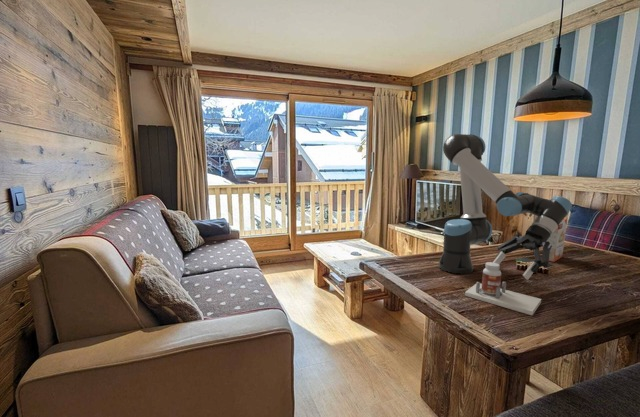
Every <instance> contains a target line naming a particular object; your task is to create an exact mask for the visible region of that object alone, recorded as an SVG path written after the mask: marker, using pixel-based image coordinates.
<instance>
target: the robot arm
mask: <svg viewBox="0 0 640 417" xmlns="http://www.w3.org/2000/svg"><path fill="white" fill-rule="evenodd" d="M442 151H443V154H444V155H445V157H446V159H447V160H448V161H449V162H450V163H451V164H452V165H454V166H458V167H459V174H460V185H461V186H460V188H461V197H462V212H463V214H462V215H461V216H460V218H457V219H449V220H447V221H446V222H445V224H444V229H443V248H442V249H443V251H442V254H441V256H440V259H439V261H438V268H439V269H440V268H441V269H440V270H442V271H444V272H446V271H448V273H450V272H452V273H451V274H456V273H460V275H462V274H463V275H464V274H465V275H466V274H470V273H472V272H473V271H474V265H473V261H472V258H471V255H470V253H471V245H472V246H473V245H476V244H482V243H485V242H486V241H487V240H488V241H489V239H490V238H491V236H492V235H493V226H492V224H491V222H489V220H487V219H488V218H487V215H486V213H484V211H483V202H482V201H483V200H482V191H483V192H484V193H485V194H486V195H487V196H488V197H489V198H490V199H491V200H492V201H493V202H494V203H495V204H496V208H497V212H498V213H499V214H500V215H502V216H504V217H514V216H517V215H524V214H531V215H533V216H537V217H536V218H535V219H534V221H533V222H532V223H531V225H530V226H528V228H527V229H526V231H525V233H524V235H522V236H521V235H520V234H518V233H515V235H514V236H512V238H510V239H508V240H506V241H505V242H503V243H501V244H500V245H499V246H497V247H496V249H497V250H498V253H497V254H496V255H495V259H494V260H493V261H492V262H493V263H497V264H499V265H500V264H501V263H502V262H503V260H504V259H505V258H506V256H507V254H509V253H511V252H514V251H517V250H519V249H520V250H521V249H526V250H530V251H533V255H534V260H535V262H536V263H535V262H532V263H531V265H530V264H529V266H528V267H527V269H526V270H525V271H524V272H523V273H522V276H523V278H524V279H525V280H527V281H528V280H529V279H530V278H531V277H532V275H533V273H537V272H538V270H539V269H540V268H541V266H545V267H548V265H549V264H550V261H549V254H550V249H551V247H552V245H551V244H550V242H549V241H547V240H548V239H549V237H550V235H551V234H552V233H553V232H554V231H555V229H556V228H557V227H558V225H559V224H560V223H561V222H562V220H563V219H566V217H567V216H568V214H569V213H570V211H571V209H572V208H573V204H572V202H571V201H570V199H568V198H566V197H564V196H560V195H559V196H558V195H555V196H553V197H551V198H550V199H547V198H544V197H539V196H536V195H533V194H530V193H528V192H522V191H518V192H516V193H515V192H513V191H512V190H511V189H510V188H509V187H508V186H507V185H506V184H505V183H504V182H503V181H502V180H501V179H500V178H499V177H497V176H496V175H495V174H494V173H493V172H492V171H491V170H490V169H489V168H488V167H486V165H484V164H483V163H482V161H483V159H482V156H483V155H484V153H485V151H486V143H485V140H484V139H483V138H482V137H481V136H479V135H476V134H473V133H472V134H471V133H470V134H461V133H456V134H452V135H450V136H448V137H447V138H446V139H445V141H444V143H443V145H442ZM546 241H547V242H546ZM542 247H543V248H542ZM540 248H542V255H541V254H540V252H541V251H540ZM541 256H542V257H541Z"/></svg>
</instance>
